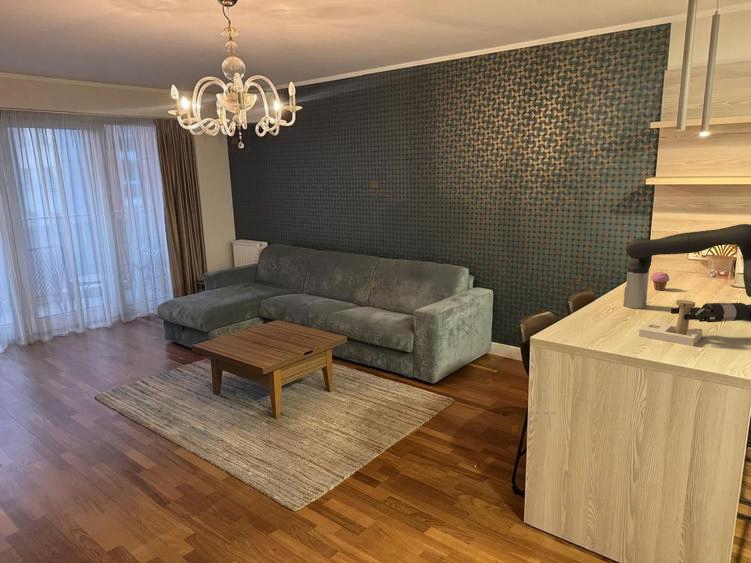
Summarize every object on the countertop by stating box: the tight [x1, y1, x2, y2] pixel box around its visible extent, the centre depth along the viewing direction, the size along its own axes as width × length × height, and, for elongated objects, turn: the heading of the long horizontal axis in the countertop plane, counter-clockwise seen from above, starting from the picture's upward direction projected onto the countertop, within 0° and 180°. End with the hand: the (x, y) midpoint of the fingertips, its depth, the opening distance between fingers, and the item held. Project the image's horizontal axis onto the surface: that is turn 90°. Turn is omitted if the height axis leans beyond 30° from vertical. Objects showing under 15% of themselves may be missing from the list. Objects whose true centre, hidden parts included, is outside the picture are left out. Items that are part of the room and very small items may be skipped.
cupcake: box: [650, 271, 670, 291], centre depth 274 cm, size 9×9×10 cm
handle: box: [675, 299, 696, 335], centre depth 197 cm, size 5×6×15 cm
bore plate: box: [638, 320, 703, 347], centre depth 201 cm, size 19×14×3 cm
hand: (677, 314), depth 197 cm, fingers open, 8 cm apart
